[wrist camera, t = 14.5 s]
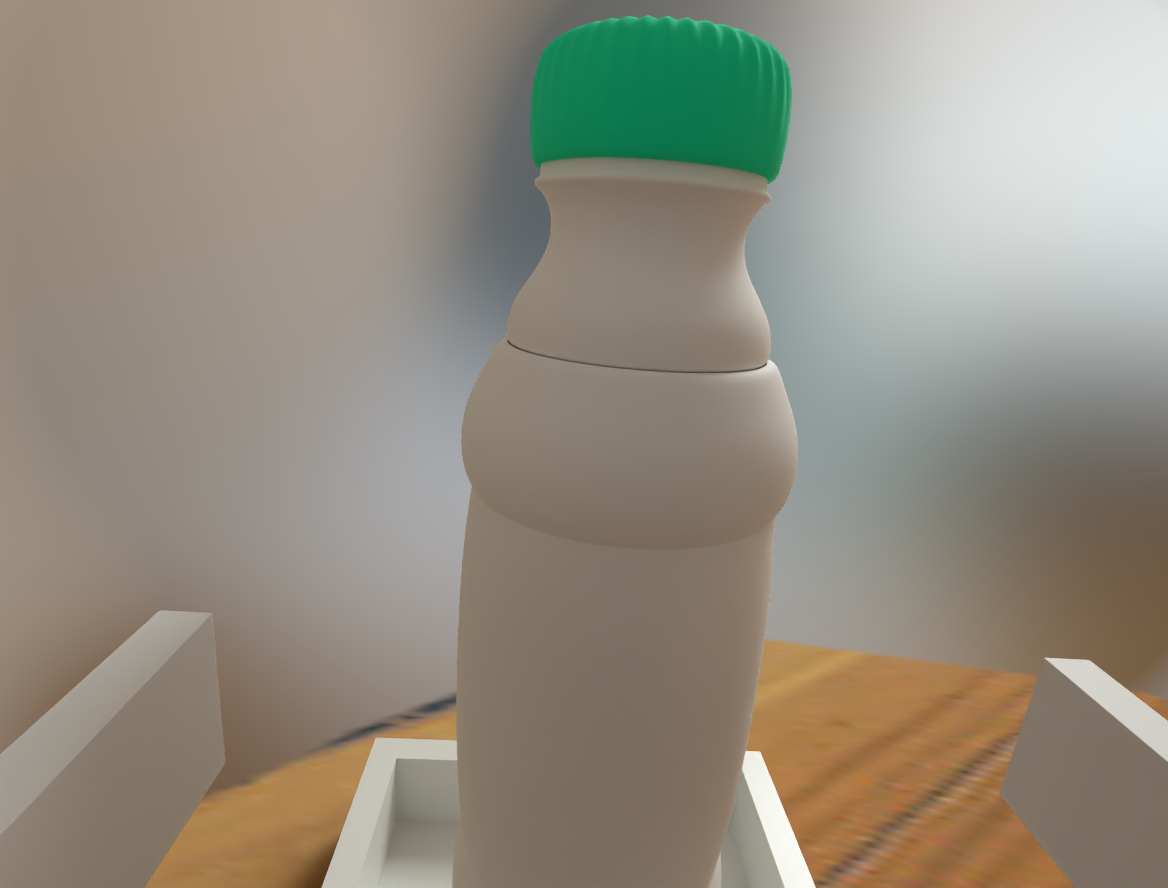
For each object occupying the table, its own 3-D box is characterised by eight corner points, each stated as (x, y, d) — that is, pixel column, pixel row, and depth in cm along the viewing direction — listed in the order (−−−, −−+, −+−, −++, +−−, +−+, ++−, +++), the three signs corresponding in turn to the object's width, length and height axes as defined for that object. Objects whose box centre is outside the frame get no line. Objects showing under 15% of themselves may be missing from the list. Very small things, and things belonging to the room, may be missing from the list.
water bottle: (490, 1248, 14) (563, -92, 7) (424, 945, 21) (430, 52, 14) (745, 1097, 17) (969, 37, 10) (621, 871, 24) (711, 108, 16)
